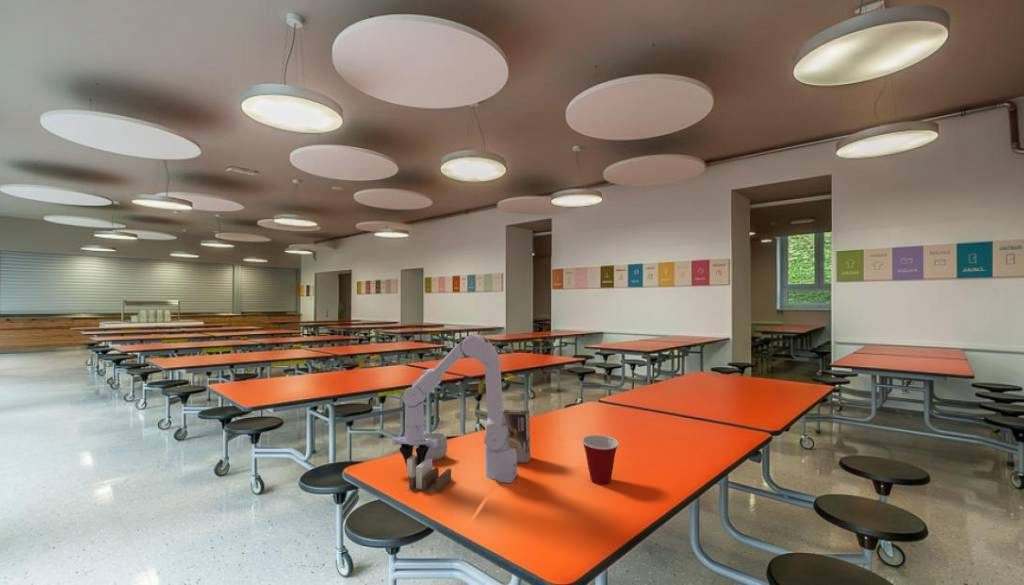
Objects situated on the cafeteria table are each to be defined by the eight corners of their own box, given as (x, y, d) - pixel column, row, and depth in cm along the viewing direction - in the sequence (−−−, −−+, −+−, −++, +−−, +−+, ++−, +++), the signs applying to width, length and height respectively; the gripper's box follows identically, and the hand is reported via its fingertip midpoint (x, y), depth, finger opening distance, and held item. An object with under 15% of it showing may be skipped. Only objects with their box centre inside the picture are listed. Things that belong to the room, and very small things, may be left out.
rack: (453, 481, 129) (453, 467, 129) (439, 496, 118) (439, 481, 118) (423, 478, 131) (423, 465, 131) (406, 493, 120) (406, 479, 120)
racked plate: (432, 479, 128) (432, 459, 128) (422, 488, 121) (421, 467, 122) (426, 479, 129) (426, 458, 129) (416, 488, 122) (416, 466, 122)
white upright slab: (422, 471, 138) (422, 452, 138) (412, 479, 131) (412, 459, 131) (417, 470, 138) (417, 451, 138) (406, 479, 131) (406, 459, 131)
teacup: (440, 465, 142) (440, 441, 143) (410, 464, 144) (409, 439, 145) (454, 452, 156) (454, 430, 156) (426, 450, 158) (426, 428, 158)
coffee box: (531, 457, 149) (530, 410, 150) (527, 463, 143) (526, 414, 144) (505, 455, 151) (505, 409, 152) (501, 461, 145) (500, 413, 146)
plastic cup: (597, 491, 120) (596, 447, 120) (575, 478, 129) (574, 437, 130) (628, 483, 124) (626, 441, 125) (604, 471, 134) (603, 432, 135)
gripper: (441, 422, 137) (441, 466, 137) (399, 420, 141) (400, 463, 140) (431, 428, 130) (432, 474, 130) (388, 426, 134) (388, 470, 133)
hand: (414, 468), depth 134 cm, fingers open, 3 cm apart
